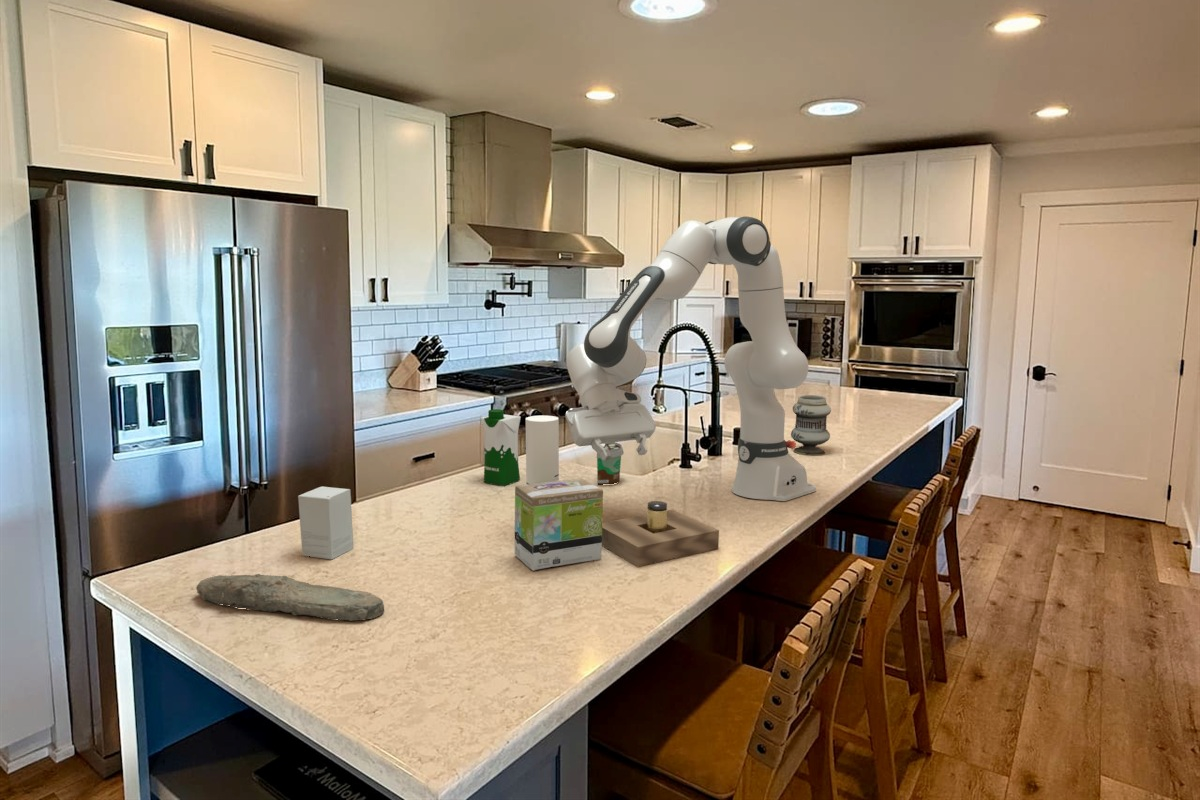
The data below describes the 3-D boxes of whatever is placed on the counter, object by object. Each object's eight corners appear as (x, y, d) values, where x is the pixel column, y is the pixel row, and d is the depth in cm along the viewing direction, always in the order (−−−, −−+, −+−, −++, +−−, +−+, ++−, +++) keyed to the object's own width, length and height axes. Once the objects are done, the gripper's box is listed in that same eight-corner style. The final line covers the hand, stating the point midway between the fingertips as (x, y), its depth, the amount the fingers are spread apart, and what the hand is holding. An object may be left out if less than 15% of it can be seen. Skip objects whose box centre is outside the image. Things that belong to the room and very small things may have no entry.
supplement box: (355, 548, 156) (352, 488, 154) (331, 560, 149) (327, 498, 147) (325, 543, 158) (322, 485, 156) (300, 556, 151) (296, 494, 149)
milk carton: (478, 482, 205) (477, 410, 202) (500, 475, 213) (499, 405, 210) (504, 487, 201) (502, 413, 198) (525, 480, 208) (524, 408, 205)
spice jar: (658, 540, 161) (659, 500, 160) (669, 546, 158) (670, 504, 156) (643, 544, 159) (643, 502, 158) (654, 549, 156) (654, 507, 154)
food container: (619, 488, 201) (619, 451, 199) (596, 487, 202) (596, 450, 200) (626, 476, 213) (627, 441, 211) (605, 475, 214) (605, 440, 212)
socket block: (672, 526, 170) (672, 509, 170) (718, 548, 157) (719, 530, 156) (595, 542, 160) (595, 523, 159) (637, 566, 147) (637, 547, 146)
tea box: (533, 573, 143) (532, 497, 141) (513, 555, 152) (512, 484, 150) (603, 560, 150) (603, 487, 148) (581, 544, 159) (581, 475, 157)
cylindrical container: (564, 526, 170) (564, 417, 166) (549, 536, 163) (548, 422, 159) (536, 522, 173) (535, 414, 169) (520, 531, 166) (519, 419, 162)
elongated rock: (364, 639, 120) (395, 616, 130) (365, 607, 119) (396, 586, 129) (179, 604, 128) (221, 584, 138) (179, 574, 128) (221, 556, 137)
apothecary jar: (791, 455, 239) (794, 399, 236) (788, 447, 251) (791, 393, 248) (831, 457, 237) (834, 400, 234) (826, 448, 249) (829, 394, 246)
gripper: (567, 400, 165) (589, 453, 159) (645, 393, 176) (669, 443, 169) (558, 417, 170) (579, 469, 163) (634, 409, 180) (657, 458, 173)
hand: (625, 456), depth 166 cm, fingers open, 8 cm apart
